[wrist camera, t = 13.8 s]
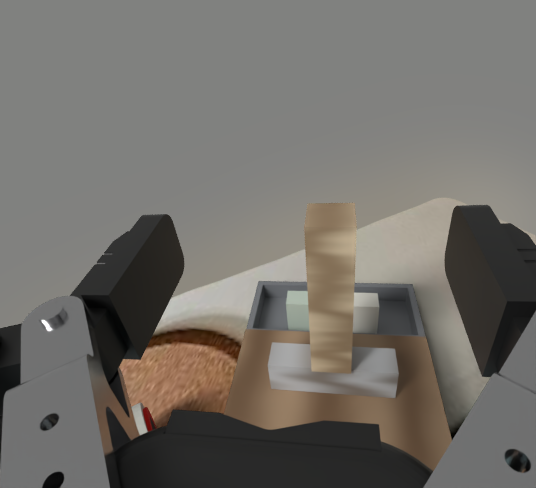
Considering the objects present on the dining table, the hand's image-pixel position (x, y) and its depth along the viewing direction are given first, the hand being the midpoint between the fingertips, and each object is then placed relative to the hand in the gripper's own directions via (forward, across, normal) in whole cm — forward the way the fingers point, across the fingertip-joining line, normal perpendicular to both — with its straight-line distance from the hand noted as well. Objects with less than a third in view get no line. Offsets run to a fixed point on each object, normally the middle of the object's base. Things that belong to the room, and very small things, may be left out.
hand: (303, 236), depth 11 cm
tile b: (+18, +2, +23) cm, 29 cm away
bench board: (+10, 0, +25) cm, 27 cm away
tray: (+20, 0, +25) cm, 32 cm away
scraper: (+10, 0, +22) cm, 24 cm away
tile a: (+18, -3, +23) cm, 29 cm away
